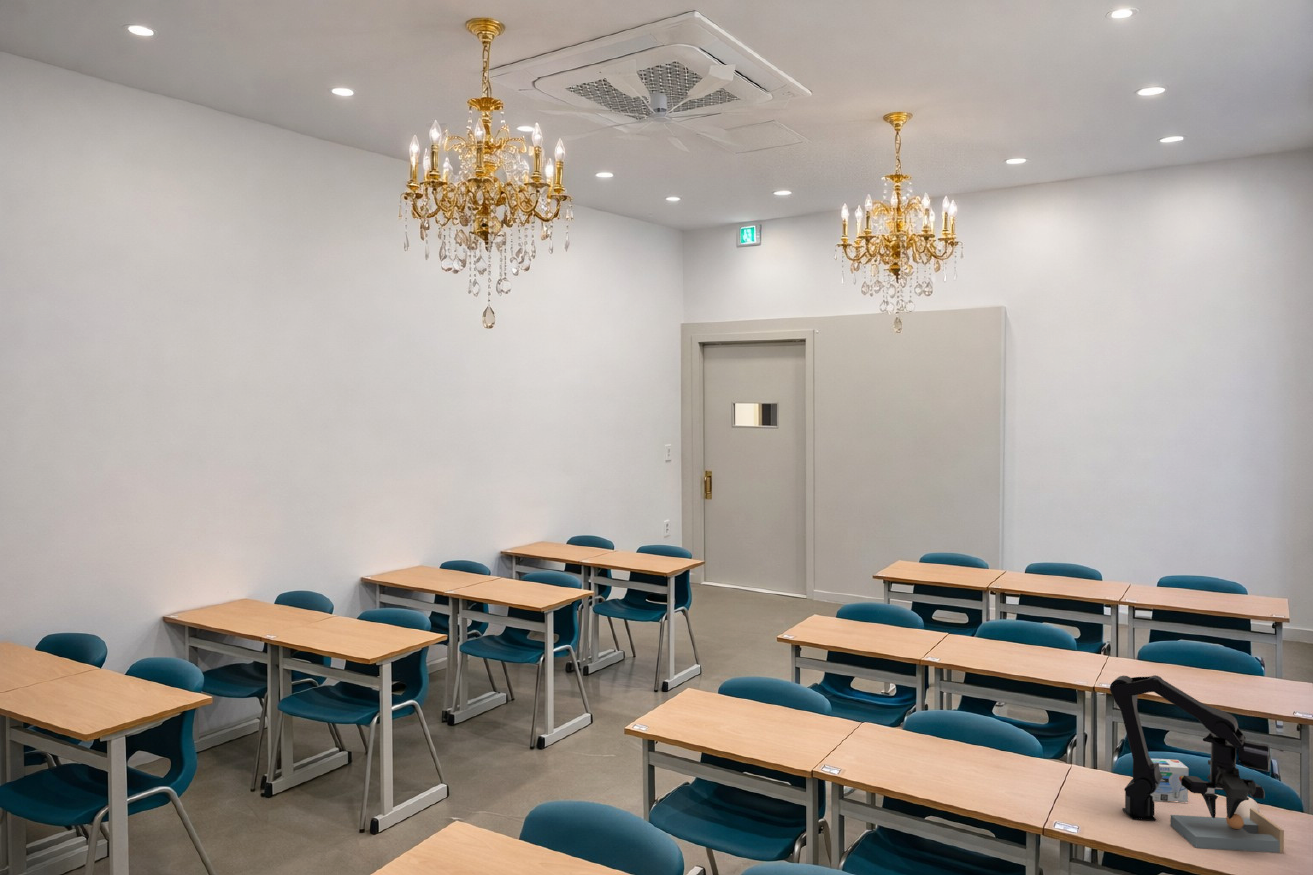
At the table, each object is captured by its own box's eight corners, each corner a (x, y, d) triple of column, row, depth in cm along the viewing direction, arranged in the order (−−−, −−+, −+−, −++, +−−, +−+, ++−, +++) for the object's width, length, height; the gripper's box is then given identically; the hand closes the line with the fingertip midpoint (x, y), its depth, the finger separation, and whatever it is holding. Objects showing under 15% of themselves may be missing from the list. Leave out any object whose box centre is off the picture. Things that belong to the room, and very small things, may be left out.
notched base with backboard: (1195, 847, 222) (1195, 825, 222) (1170, 825, 234) (1170, 804, 235) (1283, 852, 219) (1283, 829, 219) (1253, 829, 232) (1253, 808, 232)
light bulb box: (1151, 801, 250) (1151, 765, 250) (1141, 791, 257) (1141, 757, 257) (1189, 803, 249) (1189, 767, 249) (1178, 794, 256) (1178, 759, 256)
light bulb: (1264, 816, 230) (1255, 790, 240) (1236, 815, 233) (1228, 790, 243) (1268, 836, 232) (1258, 810, 241) (1240, 836, 234) (1231, 810, 244)
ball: (1228, 824, 225) (1238, 813, 225) (1219, 817, 229) (1230, 807, 229) (1239, 834, 225) (1250, 824, 224) (1231, 827, 229) (1241, 817, 228)
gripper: (1203, 768, 220) (1201, 828, 220) (1278, 774, 218) (1276, 834, 218) (1181, 754, 231) (1179, 810, 231) (1252, 759, 229) (1251, 816, 229)
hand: (1221, 818), depth 227 cm, fingers open, 4 cm apart
